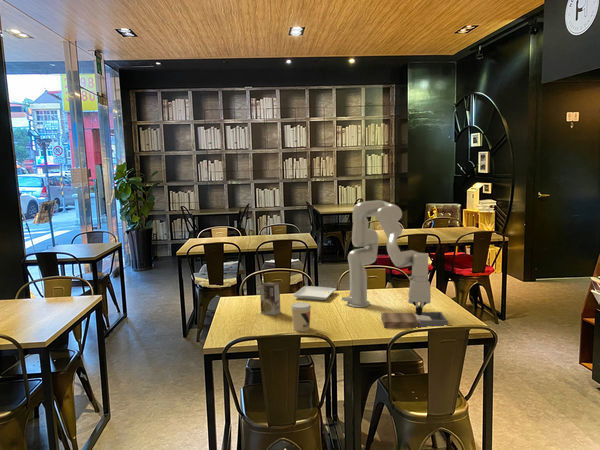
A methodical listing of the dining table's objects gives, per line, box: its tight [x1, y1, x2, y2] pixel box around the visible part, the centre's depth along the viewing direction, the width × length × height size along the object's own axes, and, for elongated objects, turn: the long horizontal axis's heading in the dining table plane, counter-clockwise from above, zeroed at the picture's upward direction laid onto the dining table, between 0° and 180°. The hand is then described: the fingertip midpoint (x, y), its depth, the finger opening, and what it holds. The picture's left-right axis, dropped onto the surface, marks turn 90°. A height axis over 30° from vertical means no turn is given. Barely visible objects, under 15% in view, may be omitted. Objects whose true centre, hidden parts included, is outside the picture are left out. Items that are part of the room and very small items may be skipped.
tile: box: [414, 314, 431, 323], centre depth 235 cm, size 7×7×2 cm
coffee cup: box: [291, 301, 312, 332], centre depth 231 cm, size 9×9×12 cm
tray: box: [414, 311, 449, 328], centre depth 235 cm, size 14×14×4 cm
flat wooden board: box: [380, 312, 419, 329], centre depth 236 cm, size 16×14×3 cm
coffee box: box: [259, 281, 281, 316], centre depth 256 cm, size 9×6×16 cm
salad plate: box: [292, 285, 337, 301], centre depth 288 cm, size 21×21×3 cm
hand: (419, 314), depth 235 cm, fingers closed
